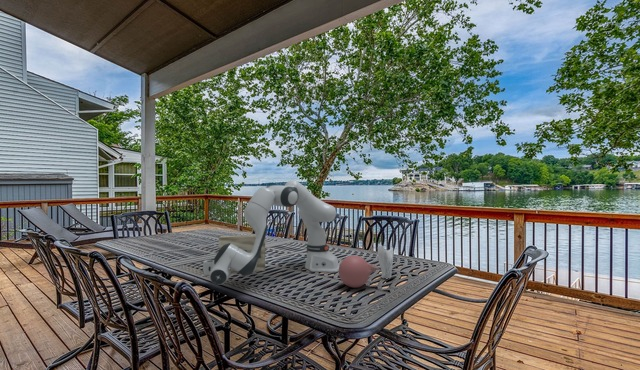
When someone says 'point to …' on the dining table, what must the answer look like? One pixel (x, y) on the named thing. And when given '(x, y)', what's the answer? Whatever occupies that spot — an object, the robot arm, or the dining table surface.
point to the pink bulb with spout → (355, 271)
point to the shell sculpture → (385, 261)
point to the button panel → (245, 247)
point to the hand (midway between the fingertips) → (225, 260)
